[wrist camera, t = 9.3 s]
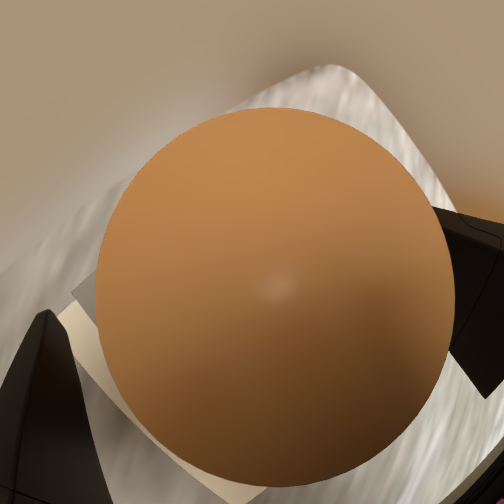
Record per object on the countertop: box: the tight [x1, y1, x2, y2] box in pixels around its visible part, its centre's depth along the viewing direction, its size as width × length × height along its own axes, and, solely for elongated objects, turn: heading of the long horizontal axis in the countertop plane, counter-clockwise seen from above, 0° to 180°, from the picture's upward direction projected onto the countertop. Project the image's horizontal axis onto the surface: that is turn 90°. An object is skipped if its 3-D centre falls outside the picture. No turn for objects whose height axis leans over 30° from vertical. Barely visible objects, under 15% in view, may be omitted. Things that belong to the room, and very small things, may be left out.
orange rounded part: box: [95, 108, 455, 487], centre depth 10 cm, size 5×5×13 cm
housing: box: [57, 270, 267, 504], centre depth 15 cm, size 15×14×5 cm
